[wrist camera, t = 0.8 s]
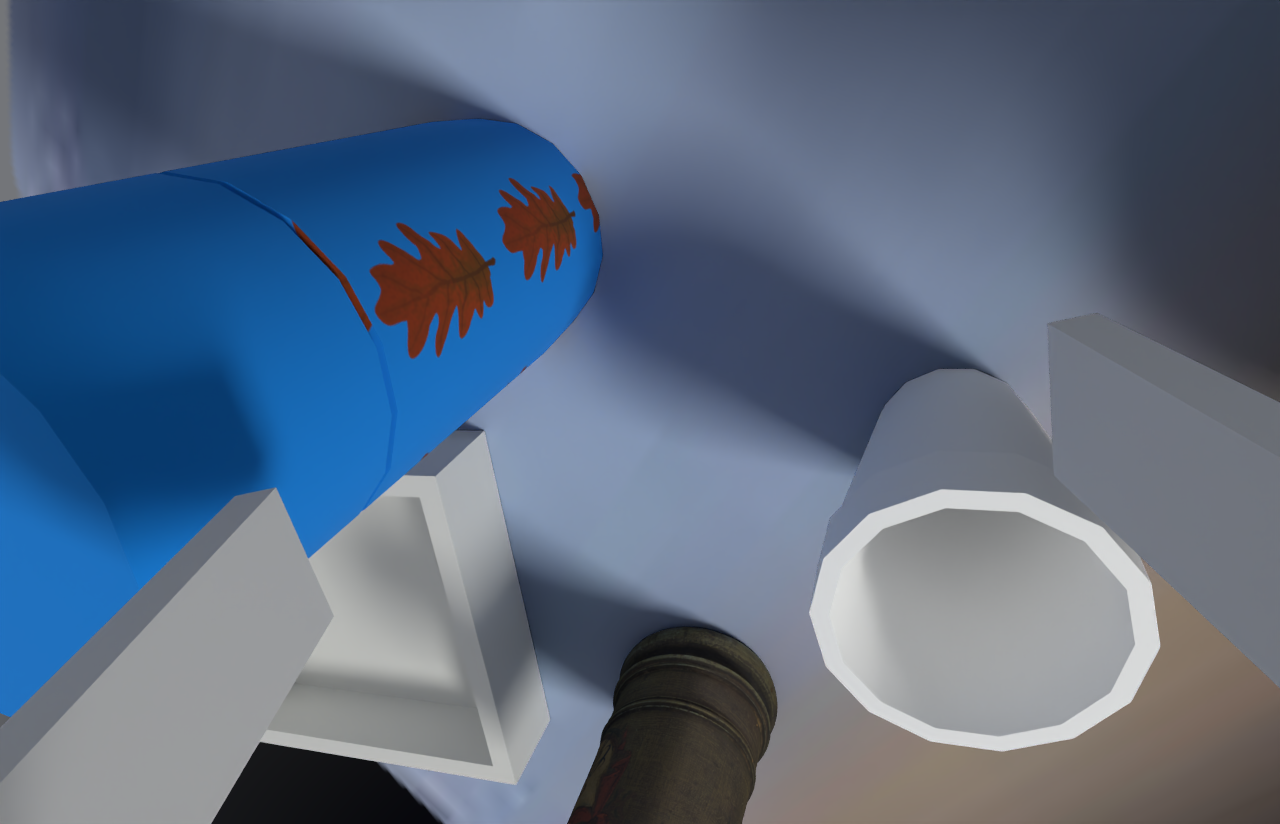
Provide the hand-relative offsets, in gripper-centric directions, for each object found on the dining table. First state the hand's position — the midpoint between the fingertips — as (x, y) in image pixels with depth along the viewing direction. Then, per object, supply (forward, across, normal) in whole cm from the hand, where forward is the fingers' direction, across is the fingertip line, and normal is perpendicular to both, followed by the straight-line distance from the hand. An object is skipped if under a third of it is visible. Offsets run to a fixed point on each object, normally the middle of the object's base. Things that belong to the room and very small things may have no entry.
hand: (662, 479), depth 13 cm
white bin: (+29, -21, -17) cm, 40 cm away
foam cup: (+20, +11, -10) cm, 25 cm away
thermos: (+26, -7, +1) cm, 26 cm away
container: (+24, -3, -25) cm, 35 cm away
